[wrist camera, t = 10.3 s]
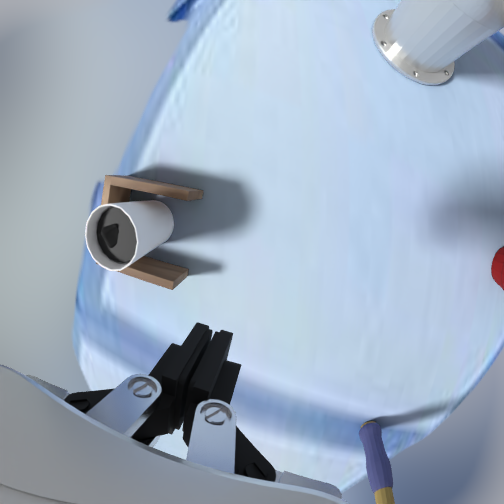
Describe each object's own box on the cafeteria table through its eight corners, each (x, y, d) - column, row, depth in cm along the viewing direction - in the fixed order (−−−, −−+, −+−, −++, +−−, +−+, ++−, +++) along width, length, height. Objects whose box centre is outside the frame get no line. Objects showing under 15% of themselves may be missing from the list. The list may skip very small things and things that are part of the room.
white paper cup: (141, 253, 35) (97, 277, 25) (126, 206, 33) (78, 216, 24) (184, 240, 34) (147, 262, 24) (168, 189, 32) (125, 193, 23)
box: (127, 175, 33) (105, 175, 28) (203, 190, 32) (189, 191, 27) (117, 254, 35) (96, 263, 30) (187, 276, 35) (172, 289, 30)
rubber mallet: (373, 397, 36) (414, 564, 7) (405, 405, 35) (453, 549, 6) (331, 441, 39) (338, 585, 10) (363, 447, 39) (380, 578, 10)
